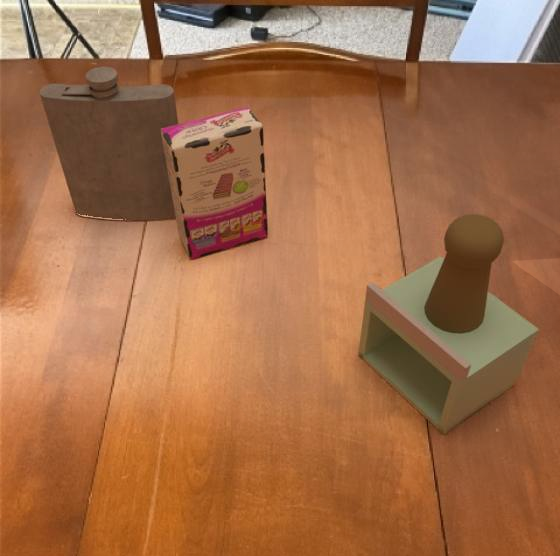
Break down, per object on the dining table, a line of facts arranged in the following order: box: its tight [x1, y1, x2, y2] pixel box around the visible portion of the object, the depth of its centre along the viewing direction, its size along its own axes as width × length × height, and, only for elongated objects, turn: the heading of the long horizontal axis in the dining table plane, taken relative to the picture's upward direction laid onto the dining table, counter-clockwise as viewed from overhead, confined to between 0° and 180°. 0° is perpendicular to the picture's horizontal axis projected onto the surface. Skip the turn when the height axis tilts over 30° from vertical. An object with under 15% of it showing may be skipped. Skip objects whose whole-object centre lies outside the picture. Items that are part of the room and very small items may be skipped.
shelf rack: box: [357, 255, 540, 436], centre depth 71 cm, size 11×14×11 cm
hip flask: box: [39, 66, 179, 222], centre depth 86 cm, size 16×4×20 cm, turn 88°
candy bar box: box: [160, 106, 269, 260], centre depth 84 cm, size 11×5×16 cm, turn 114°
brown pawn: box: [424, 213, 505, 334], centre depth 65 cm, size 6×6×11 cm
